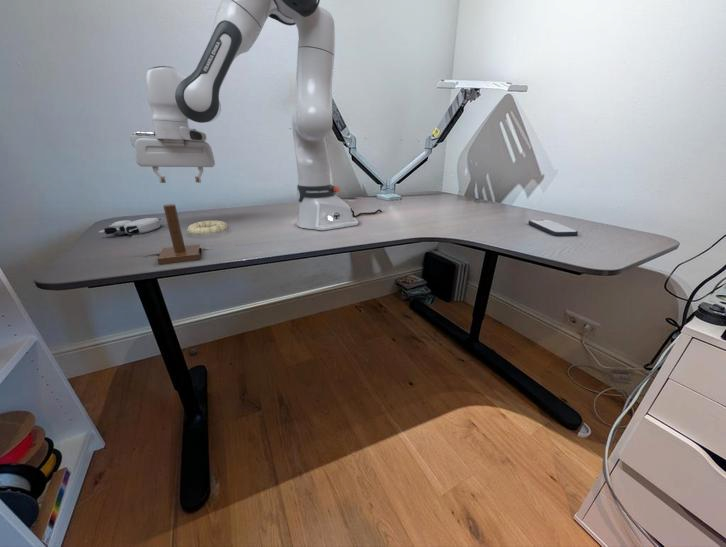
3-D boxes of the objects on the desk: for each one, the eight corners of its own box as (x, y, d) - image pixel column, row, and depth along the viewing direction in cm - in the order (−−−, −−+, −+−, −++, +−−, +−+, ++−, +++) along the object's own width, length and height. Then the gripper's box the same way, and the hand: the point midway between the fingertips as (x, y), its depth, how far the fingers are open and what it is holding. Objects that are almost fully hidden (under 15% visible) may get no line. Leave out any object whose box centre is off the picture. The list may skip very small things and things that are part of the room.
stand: (201, 249, 88) (191, 200, 83) (199, 259, 80) (187, 207, 75) (164, 253, 85) (151, 203, 79) (158, 264, 77) (144, 210, 72)
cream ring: (228, 226, 111) (226, 218, 109) (228, 235, 100) (227, 226, 99) (190, 230, 106) (188, 221, 105) (187, 239, 96) (184, 230, 95)
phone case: (579, 236, 103) (548, 223, 118) (580, 231, 102) (549, 219, 117) (553, 237, 102) (526, 224, 117) (555, 232, 102) (527, 219, 116)
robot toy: (99, 242, 96) (146, 238, 96) (93, 227, 94) (141, 224, 94) (127, 231, 107) (169, 228, 107) (122, 218, 106) (165, 215, 105)
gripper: (126, 130, 83) (138, 184, 88) (211, 134, 91) (218, 183, 97) (130, 130, 88) (141, 181, 93) (210, 134, 97) (216, 181, 102)
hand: (181, 182), depth 95 cm, fingers open, 8 cm apart
